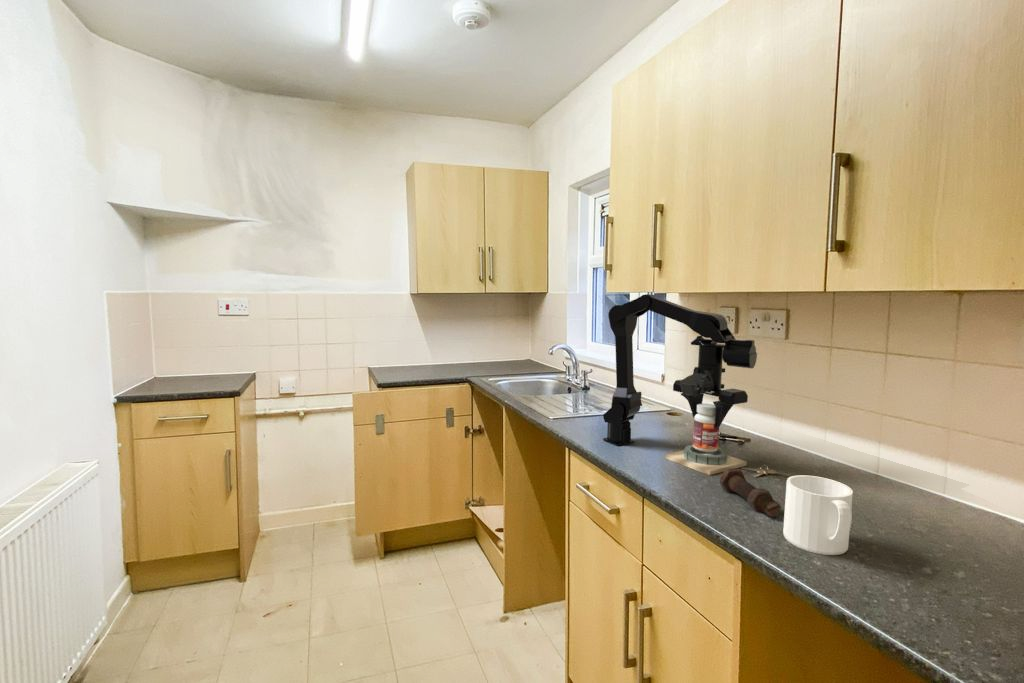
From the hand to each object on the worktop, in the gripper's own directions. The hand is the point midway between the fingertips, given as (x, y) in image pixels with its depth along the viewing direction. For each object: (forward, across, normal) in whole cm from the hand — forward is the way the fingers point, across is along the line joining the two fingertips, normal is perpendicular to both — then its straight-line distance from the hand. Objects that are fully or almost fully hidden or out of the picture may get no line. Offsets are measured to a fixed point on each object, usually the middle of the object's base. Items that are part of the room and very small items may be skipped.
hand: (706, 424), depth 132 cm
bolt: (+10, +22, -13) cm, 28 cm away
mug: (+10, +39, -18) cm, 44 cm away
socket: (+10, 0, 0) cm, 10 cm away
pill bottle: (+7, 0, 0) cm, 7 cm away
